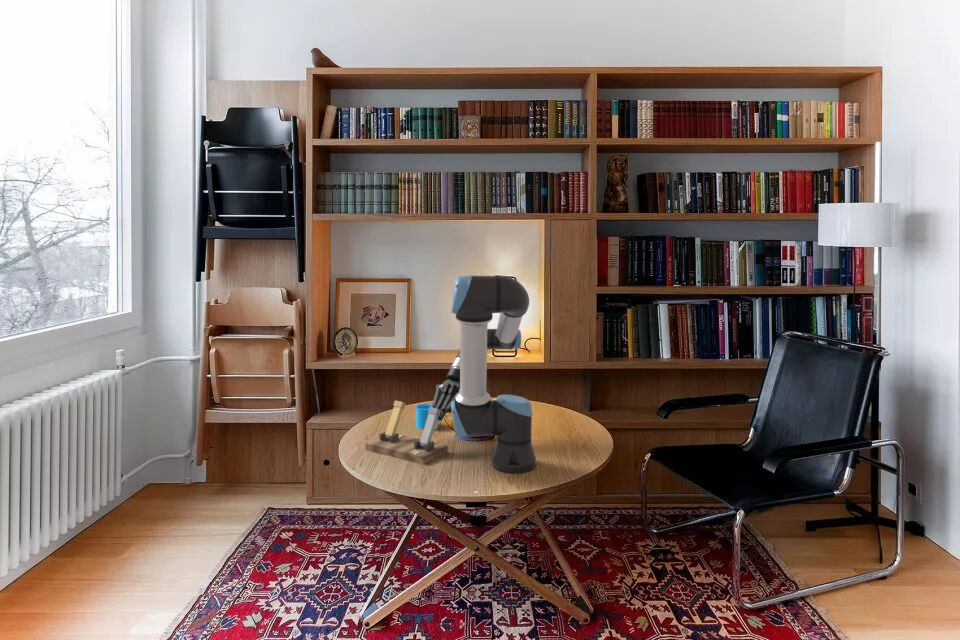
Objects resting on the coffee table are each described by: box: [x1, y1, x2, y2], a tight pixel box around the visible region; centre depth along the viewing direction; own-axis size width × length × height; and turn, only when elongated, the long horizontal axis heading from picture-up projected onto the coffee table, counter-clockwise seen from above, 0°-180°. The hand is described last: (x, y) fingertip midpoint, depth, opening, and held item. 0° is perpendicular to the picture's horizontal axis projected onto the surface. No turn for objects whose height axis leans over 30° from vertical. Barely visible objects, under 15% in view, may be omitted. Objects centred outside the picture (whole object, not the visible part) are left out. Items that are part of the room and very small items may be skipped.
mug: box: [415, 403, 433, 430], centre depth 262 cm, size 12×8×8 cm
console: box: [365, 431, 449, 465], centre depth 231 cm, size 26×14×5 cm, turn 57°
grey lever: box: [420, 407, 441, 447], centre depth 229 cm, size 4×2×14 cm, turn 57°
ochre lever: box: [385, 400, 407, 439], centre depth 237 cm, size 4×2×14 cm, turn 57°
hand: (432, 427), depth 231 cm, fingers closed
